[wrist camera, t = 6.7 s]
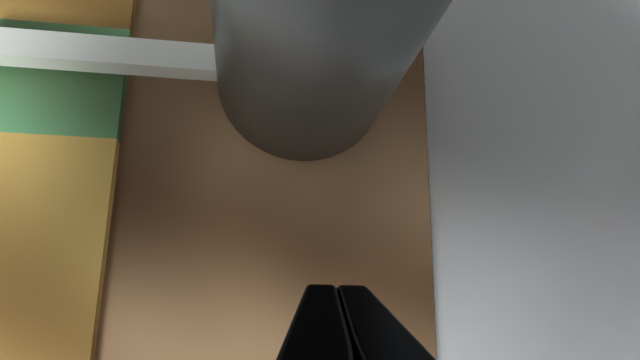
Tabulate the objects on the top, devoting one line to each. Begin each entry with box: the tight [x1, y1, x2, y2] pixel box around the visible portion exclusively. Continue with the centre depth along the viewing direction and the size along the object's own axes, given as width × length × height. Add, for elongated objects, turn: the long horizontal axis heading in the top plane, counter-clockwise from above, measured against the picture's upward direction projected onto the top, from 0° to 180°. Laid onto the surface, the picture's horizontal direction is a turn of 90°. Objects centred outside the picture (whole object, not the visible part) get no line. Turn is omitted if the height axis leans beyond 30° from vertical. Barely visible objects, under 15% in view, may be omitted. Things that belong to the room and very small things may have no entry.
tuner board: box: [0, 0, 437, 360], centre depth 13 cm, size 14×12×1 cm
